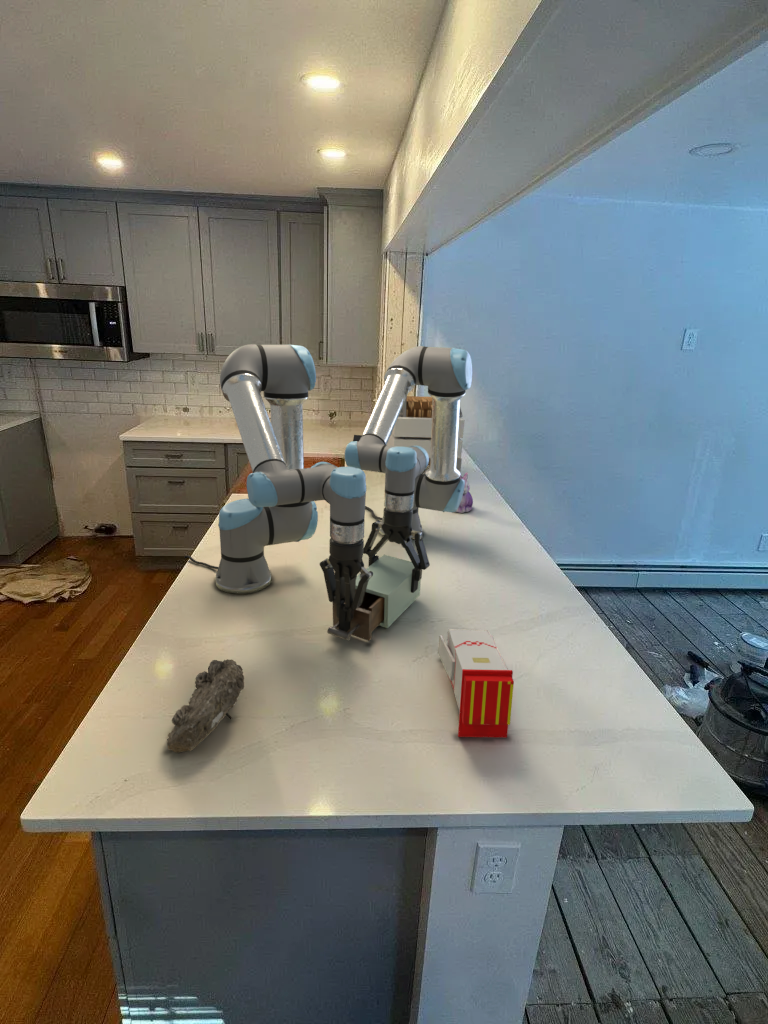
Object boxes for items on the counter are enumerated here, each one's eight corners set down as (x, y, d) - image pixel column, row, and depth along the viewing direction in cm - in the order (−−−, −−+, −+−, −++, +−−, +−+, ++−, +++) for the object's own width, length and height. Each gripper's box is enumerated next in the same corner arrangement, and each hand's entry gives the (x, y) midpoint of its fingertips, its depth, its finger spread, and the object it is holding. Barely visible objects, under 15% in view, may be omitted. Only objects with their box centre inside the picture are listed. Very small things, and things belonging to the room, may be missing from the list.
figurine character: (364, 456, 306) (364, 446, 320) (364, 442, 303) (365, 433, 317) (351, 455, 306) (352, 446, 320) (352, 442, 303) (353, 433, 316)
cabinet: (387, 628, 140) (388, 595, 136) (348, 615, 145) (348, 583, 141) (419, 595, 155) (421, 564, 151) (383, 584, 160) (384, 554, 156)
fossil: (192, 660, 117) (244, 628, 112) (224, 691, 120) (276, 661, 115) (142, 746, 98) (202, 712, 93) (182, 779, 101) (242, 748, 96)
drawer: (356, 654, 129) (356, 626, 126) (319, 640, 133) (318, 613, 130) (402, 607, 147) (403, 582, 144) (368, 596, 152) (368, 572, 149)
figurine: (459, 514, 221) (463, 477, 216) (445, 506, 229) (448, 470, 224) (479, 511, 225) (483, 475, 220) (464, 503, 234) (467, 468, 228)
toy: (488, 613, 130) (523, 677, 101) (484, 667, 133) (517, 744, 104) (435, 612, 130) (455, 676, 101) (432, 666, 133) (451, 743, 103)
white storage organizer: (382, 463, 289) (386, 382, 275) (445, 464, 293) (451, 384, 279) (390, 482, 257) (394, 392, 243) (460, 483, 261) (468, 394, 247)
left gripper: (312, 537, 124) (312, 629, 132) (363, 551, 118) (360, 647, 126) (331, 526, 130) (330, 615, 138) (381, 539, 124) (376, 631, 133)
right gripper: (350, 502, 147) (348, 578, 154) (435, 521, 136) (428, 602, 144) (365, 495, 153) (362, 568, 160) (447, 513, 143) (440, 590, 150)
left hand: (344, 630), depth 132 cm, fingers closed
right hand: (393, 584), depth 152 cm, fingers closed on cabinet, 11 cm apart
